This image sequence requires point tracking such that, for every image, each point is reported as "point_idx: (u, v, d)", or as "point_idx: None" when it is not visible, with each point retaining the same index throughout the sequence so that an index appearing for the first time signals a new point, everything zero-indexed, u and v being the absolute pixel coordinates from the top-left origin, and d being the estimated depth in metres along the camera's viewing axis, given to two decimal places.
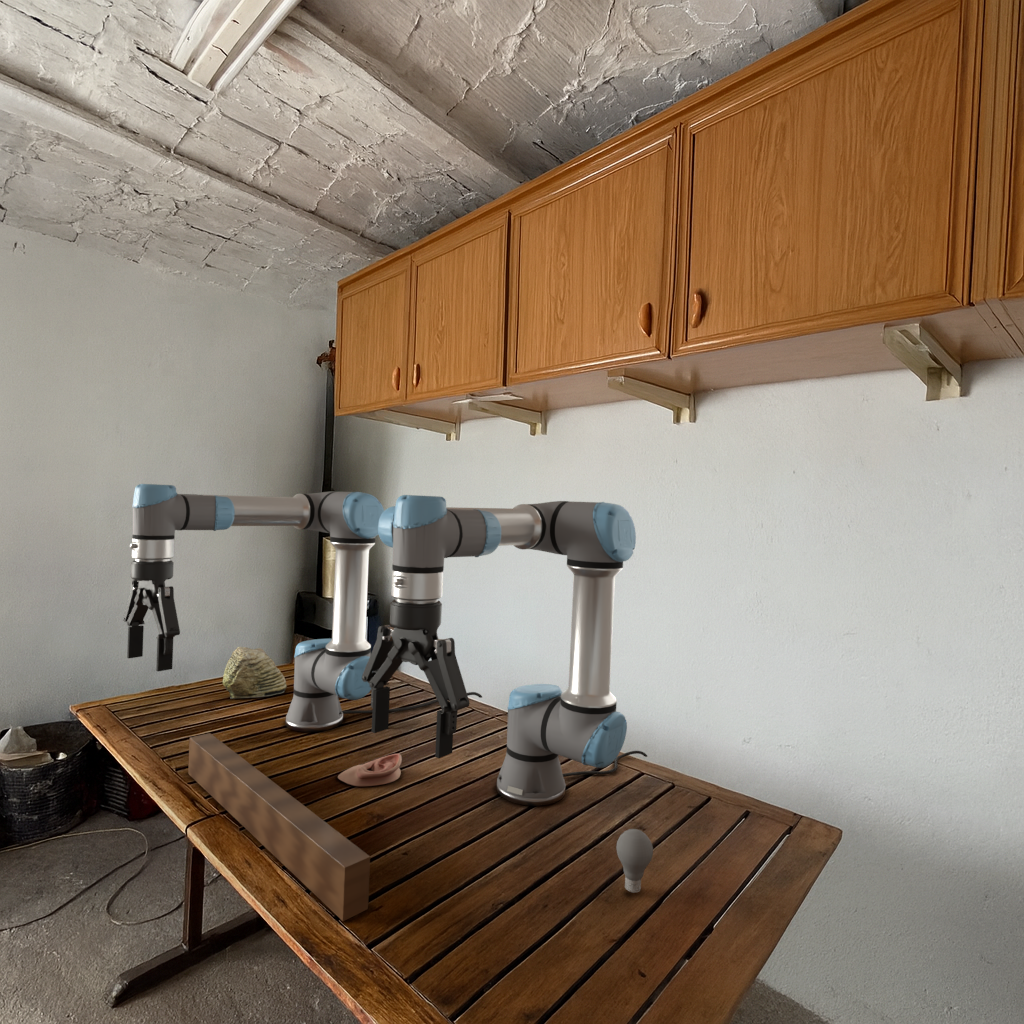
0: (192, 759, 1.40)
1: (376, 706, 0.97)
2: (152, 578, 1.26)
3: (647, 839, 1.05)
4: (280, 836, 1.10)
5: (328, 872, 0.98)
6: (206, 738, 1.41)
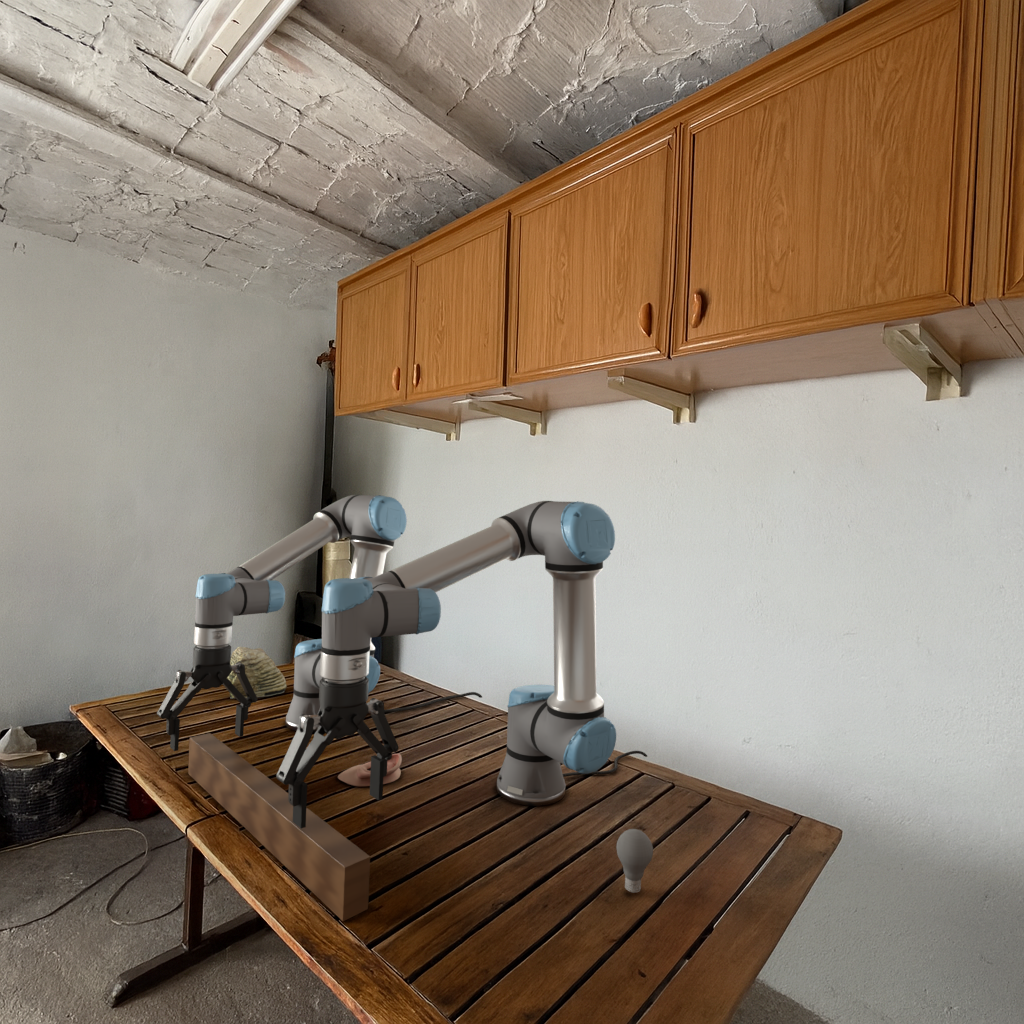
0: (192, 759, 1.40)
1: (305, 799, 0.95)
2: (230, 659, 1.40)
3: (647, 839, 1.05)
4: (280, 836, 1.10)
5: (328, 872, 0.98)
6: (206, 738, 1.41)
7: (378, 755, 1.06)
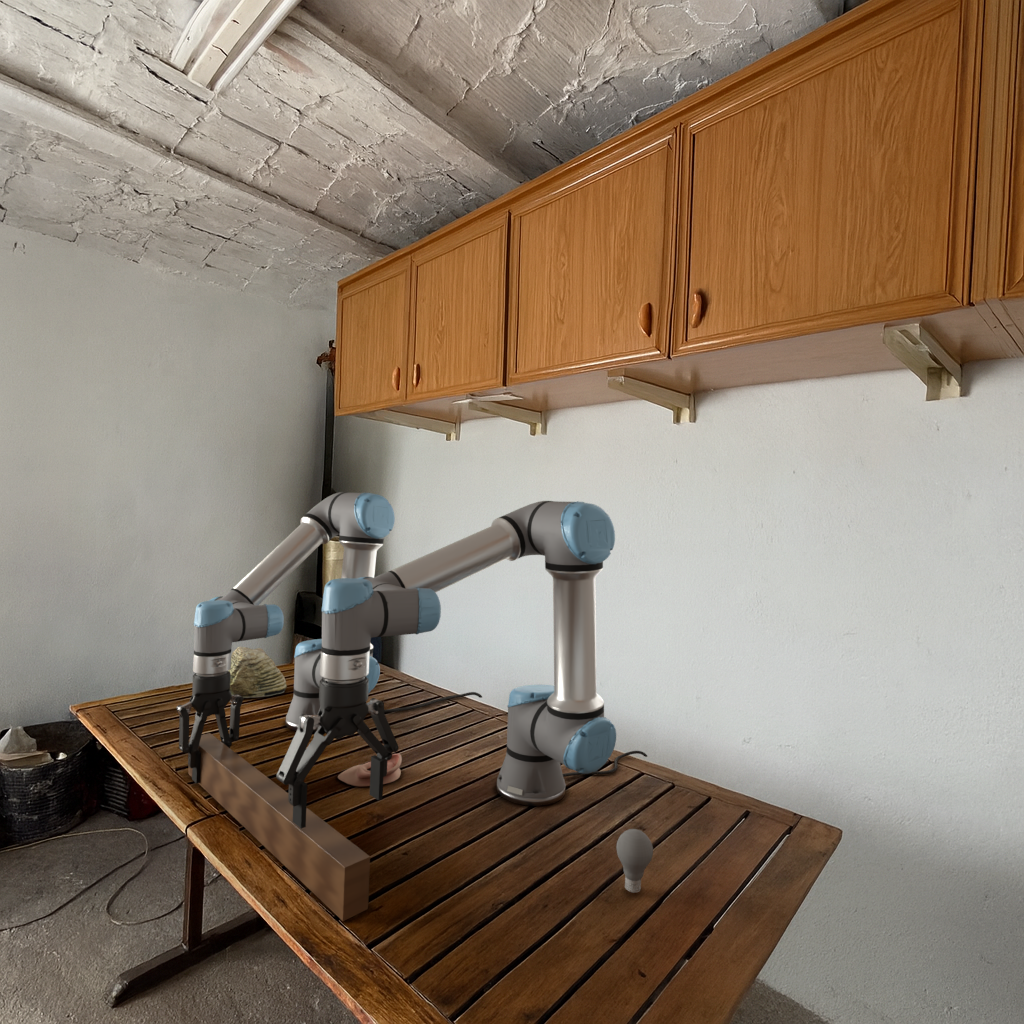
0: None
1: (305, 799, 0.95)
2: None
3: (647, 839, 1.05)
4: (280, 836, 1.10)
5: (328, 872, 0.98)
6: (206, 738, 1.41)
7: (378, 755, 1.06)
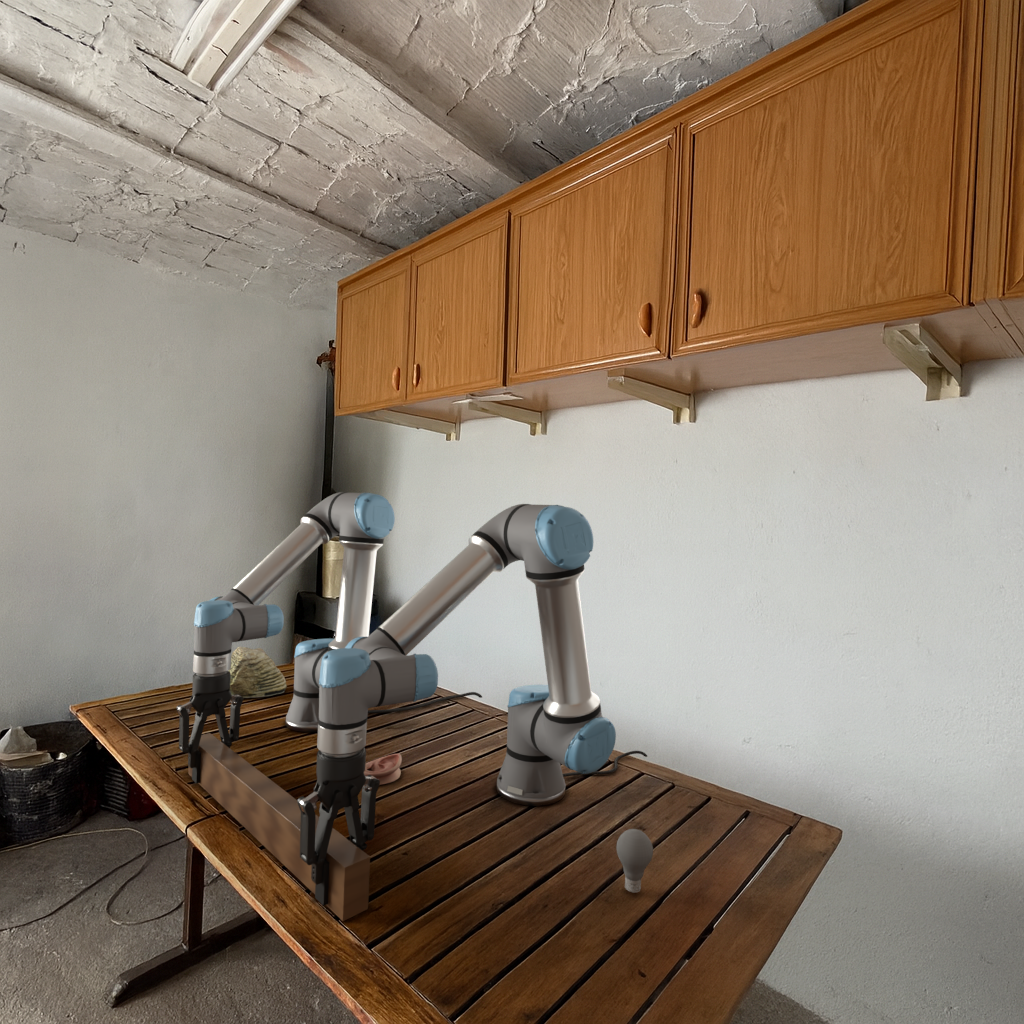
0: None
1: None
2: None
3: (647, 839, 1.05)
4: (280, 836, 1.10)
5: None
6: (206, 738, 1.41)
7: None
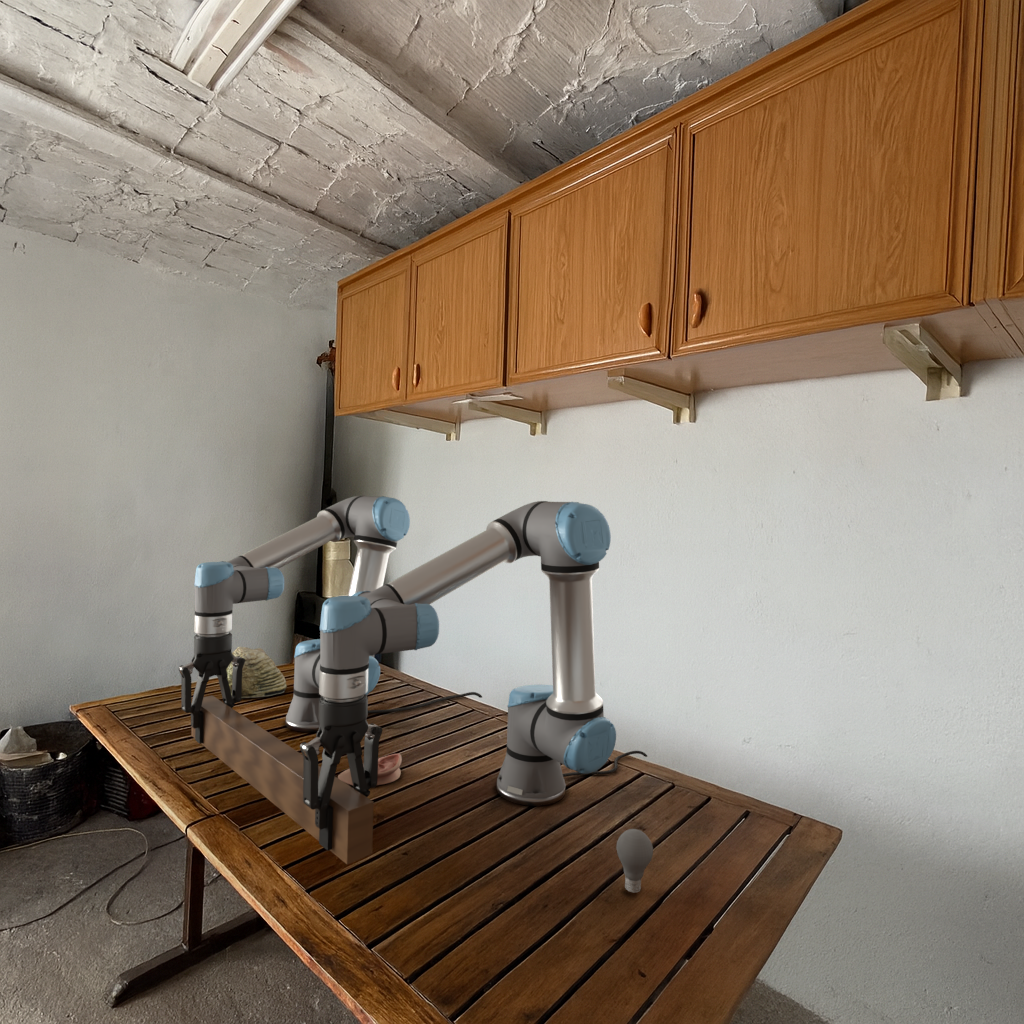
0: None
1: None
2: (231, 647, 1.40)
3: (647, 839, 1.05)
4: (283, 787, 1.10)
5: None
6: (208, 700, 1.41)
7: None
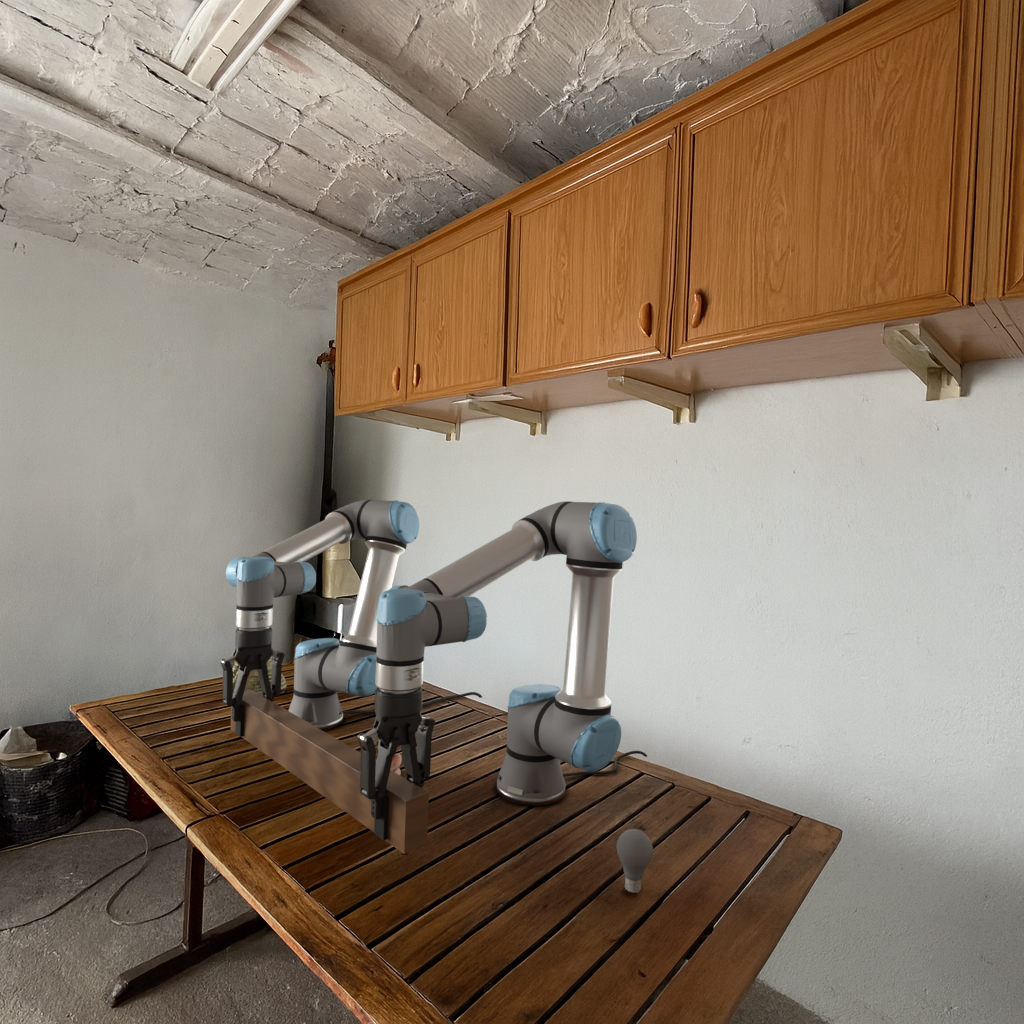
0: None
1: (387, 813, 0.99)
2: None
3: (647, 839, 1.05)
4: (334, 779, 1.11)
5: None
6: (248, 694, 1.42)
7: None
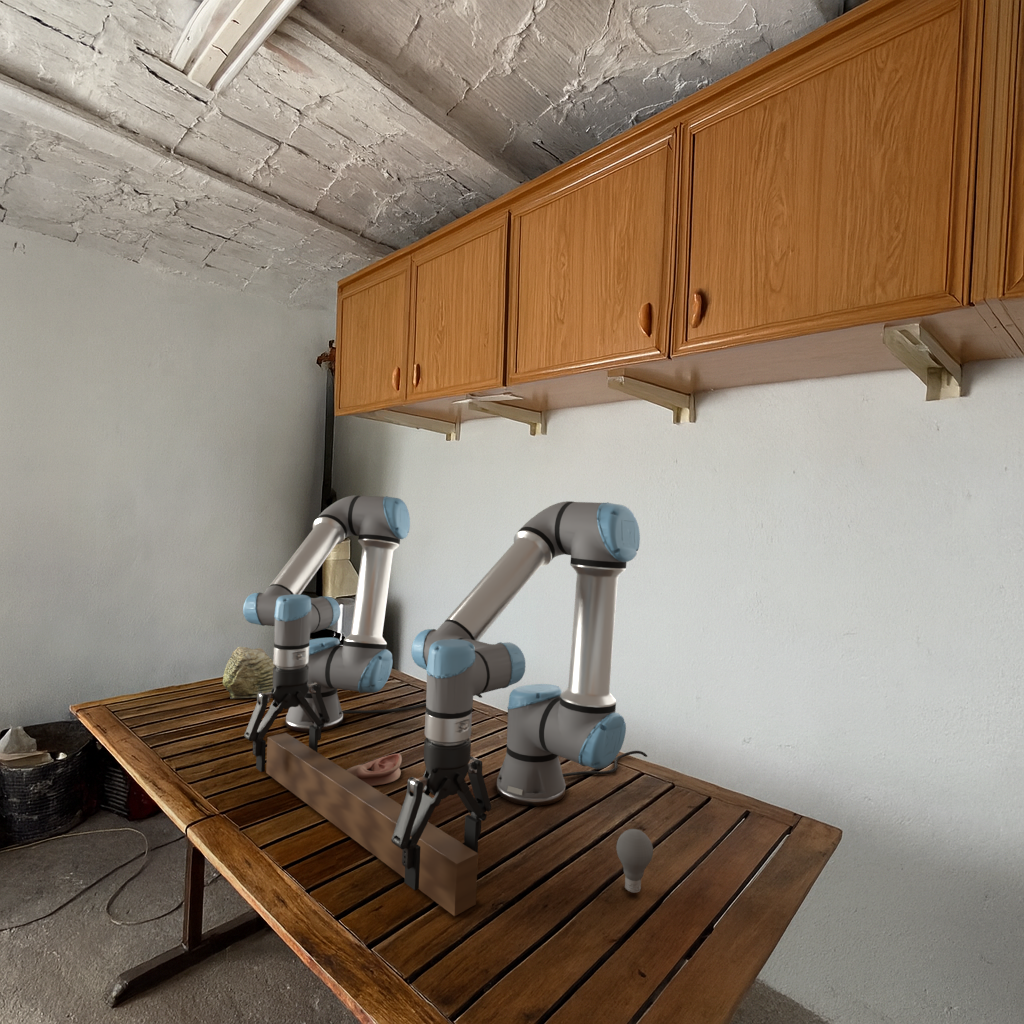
0: (271, 758, 1.42)
1: (419, 862, 0.98)
2: None
3: (647, 839, 1.05)
4: (378, 834, 1.12)
5: (436, 868, 1.01)
6: (283, 738, 1.44)
7: (472, 815, 1.07)
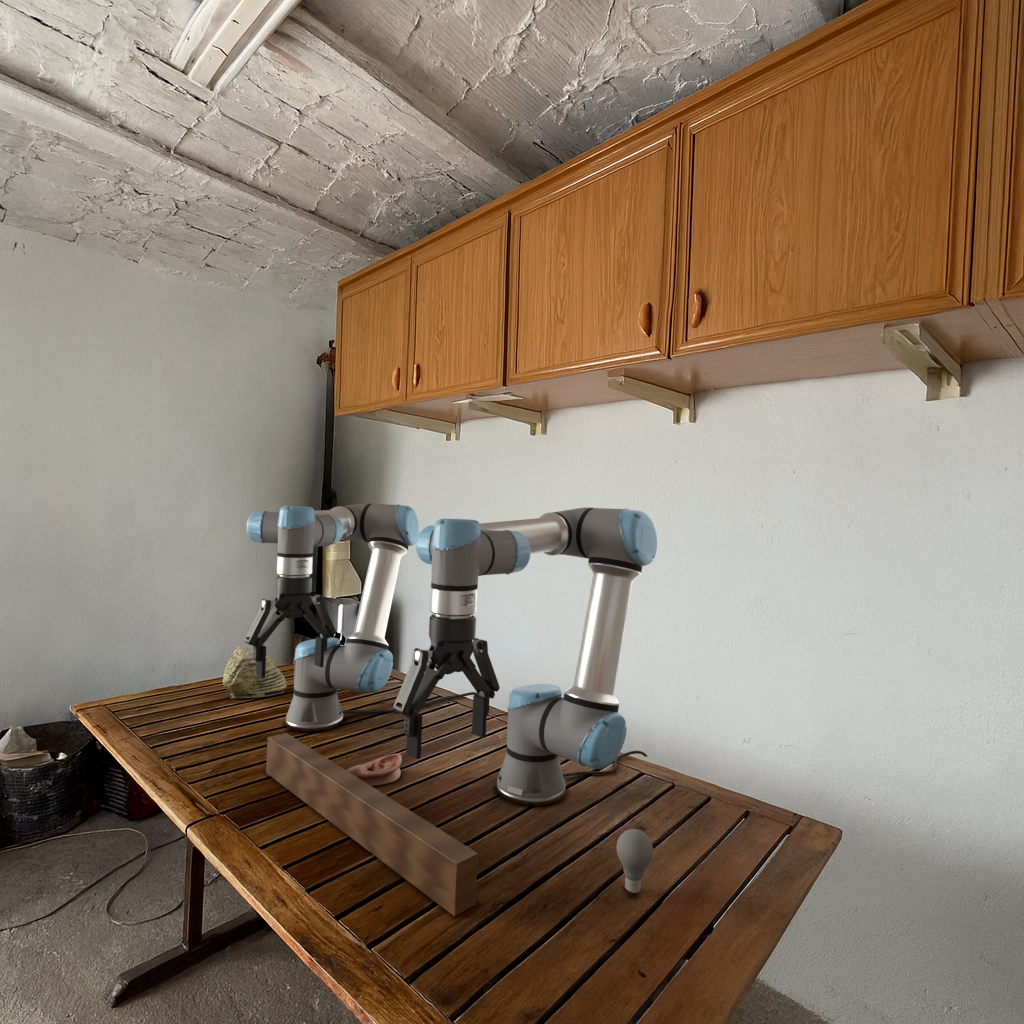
0: (271, 758, 1.42)
1: None
2: None
3: (647, 839, 1.05)
4: (378, 834, 1.12)
5: (436, 868, 1.01)
6: (283, 738, 1.44)
7: (480, 694, 1.08)
